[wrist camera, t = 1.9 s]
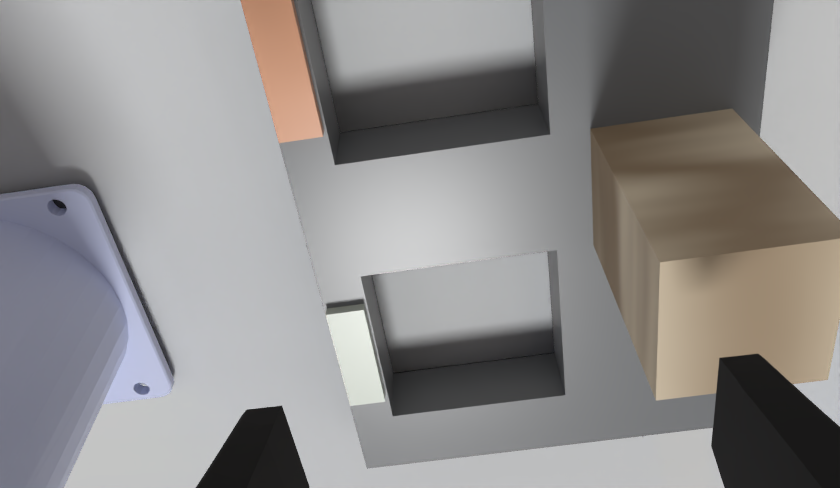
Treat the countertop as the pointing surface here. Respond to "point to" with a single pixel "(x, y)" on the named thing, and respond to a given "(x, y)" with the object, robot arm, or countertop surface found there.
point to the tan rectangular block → (713, 251)
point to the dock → (500, 215)
